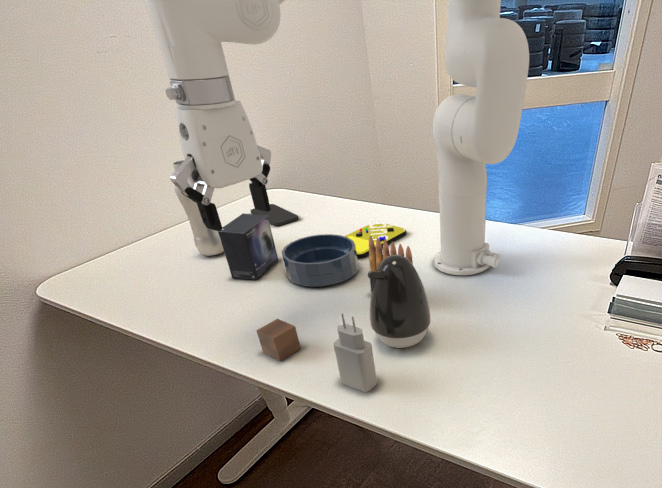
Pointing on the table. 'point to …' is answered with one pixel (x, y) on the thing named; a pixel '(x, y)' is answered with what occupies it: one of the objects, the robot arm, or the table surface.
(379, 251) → the ammunition clip
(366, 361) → the power adapter
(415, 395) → the table surface
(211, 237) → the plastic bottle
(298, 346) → the block
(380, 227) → the yellow toy board
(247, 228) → the small box
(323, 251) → the bowl
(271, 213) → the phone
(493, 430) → the table surface
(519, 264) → the table surface
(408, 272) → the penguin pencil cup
